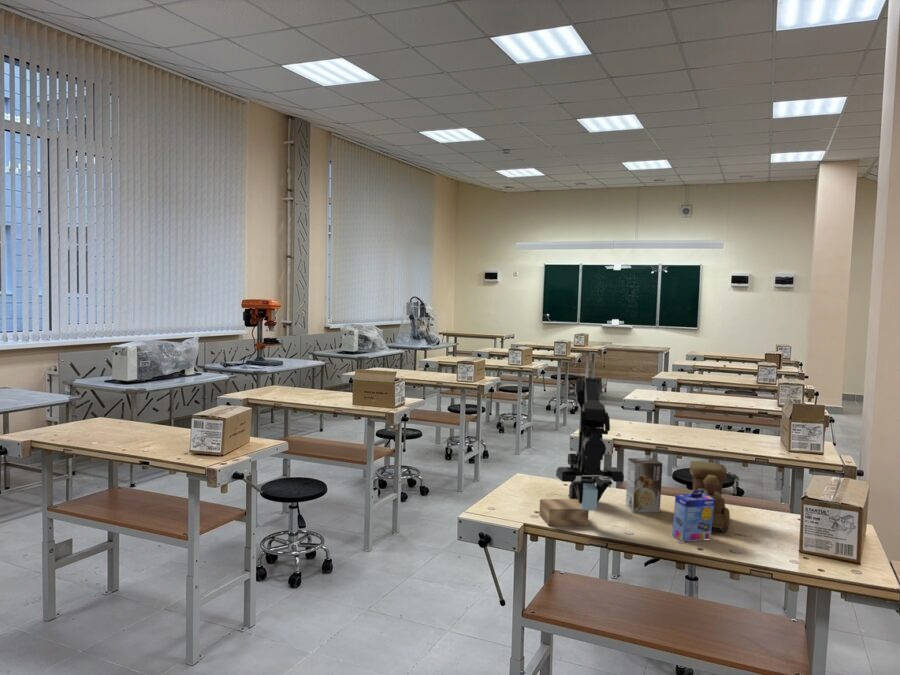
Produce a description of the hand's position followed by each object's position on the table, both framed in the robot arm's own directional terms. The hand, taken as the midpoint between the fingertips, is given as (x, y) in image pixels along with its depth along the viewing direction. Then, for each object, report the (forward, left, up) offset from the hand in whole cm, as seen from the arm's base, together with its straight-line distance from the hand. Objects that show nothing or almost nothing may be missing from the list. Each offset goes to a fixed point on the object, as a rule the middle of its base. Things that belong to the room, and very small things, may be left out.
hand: (588, 503), depth 181 cm
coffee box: (-25, -15, -7) cm, 30 cm away
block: (0, 0, -1) cm, 1 cm away
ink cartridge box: (-28, +9, -7) cm, 30 cm away
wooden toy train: (-40, -3, -8) cm, 41 cm away
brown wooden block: (+5, -6, -7) cm, 11 cm away
